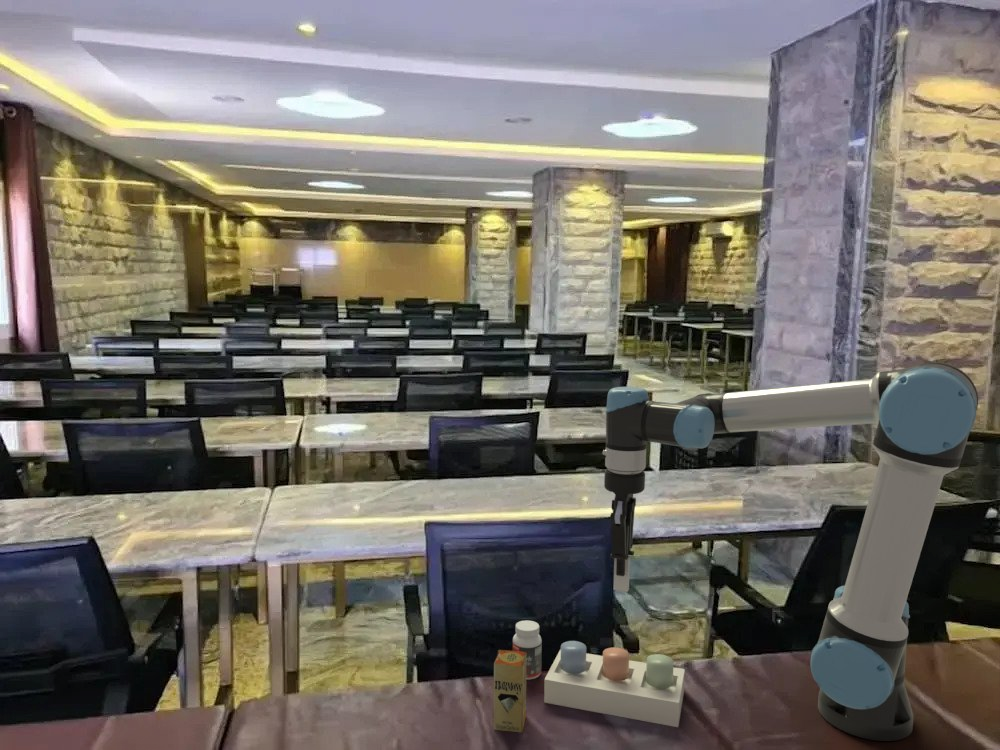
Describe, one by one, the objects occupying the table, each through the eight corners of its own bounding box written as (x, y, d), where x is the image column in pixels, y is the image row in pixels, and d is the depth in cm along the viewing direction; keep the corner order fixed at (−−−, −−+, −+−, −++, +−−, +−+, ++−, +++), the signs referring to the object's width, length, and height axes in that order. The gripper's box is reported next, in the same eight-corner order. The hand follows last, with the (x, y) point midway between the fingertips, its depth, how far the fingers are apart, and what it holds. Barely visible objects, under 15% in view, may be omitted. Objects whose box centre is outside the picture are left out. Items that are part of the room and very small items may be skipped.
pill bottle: (507, 676, 144) (507, 628, 143) (520, 663, 149) (520, 616, 148) (533, 683, 141) (534, 634, 140) (546, 670, 146) (546, 622, 145)
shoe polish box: (498, 713, 131) (498, 649, 130) (526, 716, 131) (526, 652, 129) (493, 729, 127) (493, 663, 125) (522, 732, 126) (522, 666, 124)
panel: (684, 691, 139) (684, 669, 138) (678, 727, 127) (678, 702, 127) (560, 670, 146) (560, 649, 146) (544, 702, 135) (544, 679, 134)
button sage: (674, 677, 135) (674, 656, 135) (671, 690, 131) (672, 669, 130) (647, 672, 137) (648, 652, 136) (644, 685, 132) (644, 664, 132)
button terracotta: (630, 669, 138) (630, 649, 137) (626, 682, 133) (626, 661, 133) (605, 665, 139) (605, 645, 139) (600, 678, 135) (600, 657, 134)
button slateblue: (588, 663, 140) (588, 643, 140) (583, 675, 136) (583, 654, 135) (563, 659, 142) (564, 639, 141) (557, 671, 137) (558, 650, 137)
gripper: (612, 459, 146) (608, 574, 148) (597, 475, 133) (594, 599, 136) (650, 463, 143) (646, 579, 146) (638, 479, 131) (634, 606, 134)
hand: (621, 589), depth 141 cm, fingers closed
